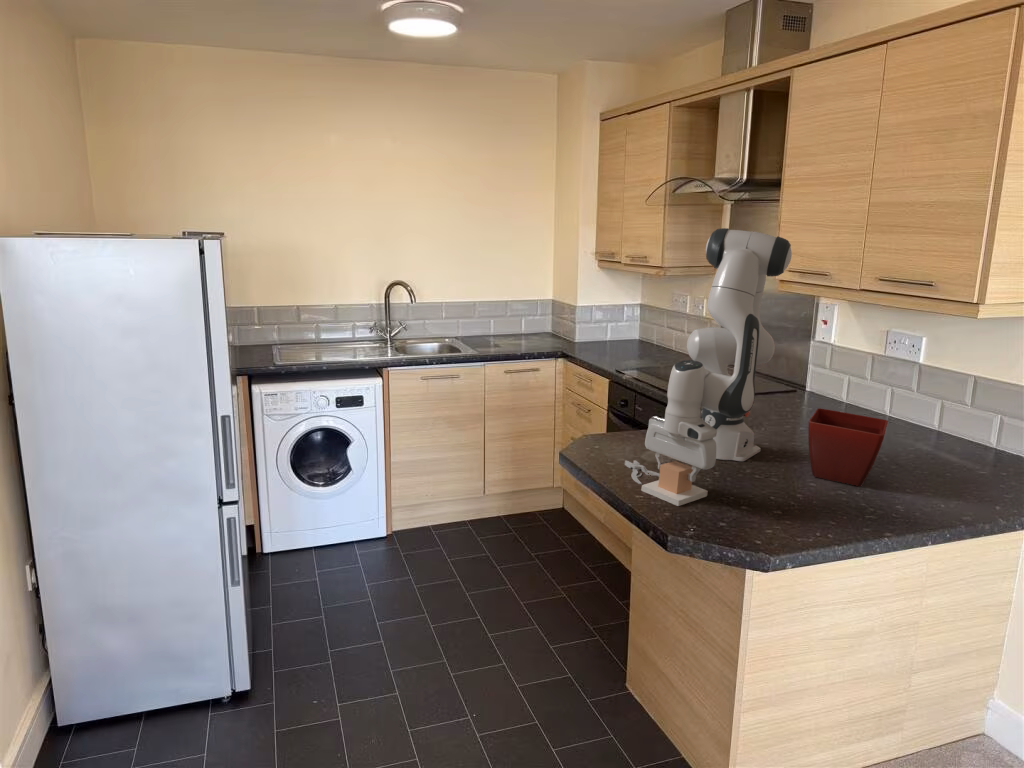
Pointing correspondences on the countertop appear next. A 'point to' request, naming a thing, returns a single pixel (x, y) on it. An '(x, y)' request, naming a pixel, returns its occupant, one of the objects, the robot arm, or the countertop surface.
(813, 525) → the countertop surface
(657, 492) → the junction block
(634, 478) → the pliers
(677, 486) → the tan cardboard cube
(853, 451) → the plant pot
